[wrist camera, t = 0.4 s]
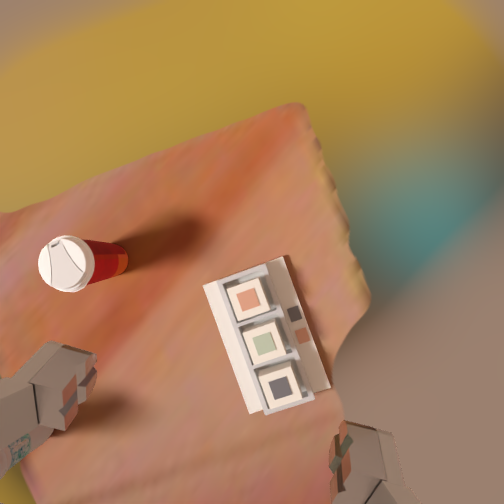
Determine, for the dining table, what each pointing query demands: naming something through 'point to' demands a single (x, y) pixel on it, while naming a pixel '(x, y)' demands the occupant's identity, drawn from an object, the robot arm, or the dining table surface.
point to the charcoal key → (280, 384)
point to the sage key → (264, 341)
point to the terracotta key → (248, 298)
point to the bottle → (23, 447)
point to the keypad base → (289, 325)
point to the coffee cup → (80, 262)
